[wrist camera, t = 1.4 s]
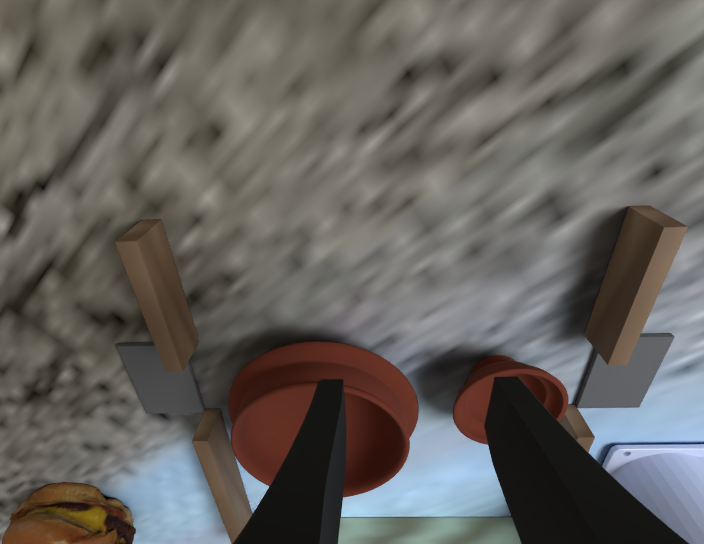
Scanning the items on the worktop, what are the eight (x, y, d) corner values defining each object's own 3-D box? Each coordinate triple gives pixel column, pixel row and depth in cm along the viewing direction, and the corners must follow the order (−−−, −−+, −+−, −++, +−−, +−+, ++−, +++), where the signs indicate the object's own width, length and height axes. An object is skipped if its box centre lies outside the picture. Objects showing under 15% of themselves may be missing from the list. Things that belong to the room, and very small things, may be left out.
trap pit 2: (671, 333, 23) (674, 336, 22) (636, 403, 26) (638, 407, 25) (601, 334, 23) (604, 338, 22) (574, 404, 26) (577, 408, 25)
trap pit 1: (182, 342, 23) (181, 345, 23) (205, 408, 26) (204, 412, 26) (118, 343, 24) (115, 346, 23) (148, 409, 27) (146, 413, 26)
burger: (46, 534, 36) (7, 596, 32) (13, 475, 31) (-38, 538, 27) (154, 541, 36) (128, 602, 32) (137, 484, 32) (105, 547, 28)
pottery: (211, 331, 23) (182, 387, 19) (554, 288, 21) (597, 341, 17) (265, 451, 29) (251, 512, 25) (538, 426, 27) (567, 488, 23)
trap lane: (649, 205, 19) (697, 231, 16) (530, 523, 33) (544, 563, 31) (141, 219, 19) (108, 247, 17) (244, 524, 34) (234, 563, 31)
